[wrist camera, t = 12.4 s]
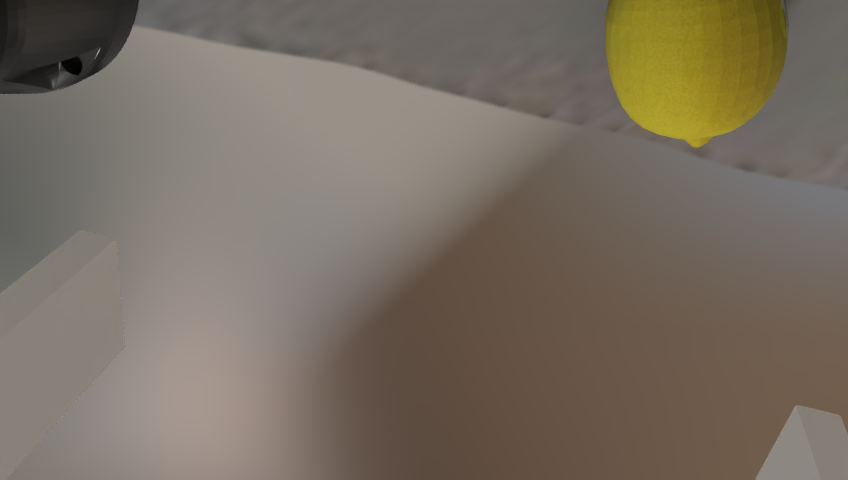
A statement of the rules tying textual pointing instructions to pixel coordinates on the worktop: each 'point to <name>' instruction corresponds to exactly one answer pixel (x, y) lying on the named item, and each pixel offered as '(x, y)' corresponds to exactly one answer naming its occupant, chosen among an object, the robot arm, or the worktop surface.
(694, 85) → the lemon
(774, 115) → the worktop surface
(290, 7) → the worktop surface
